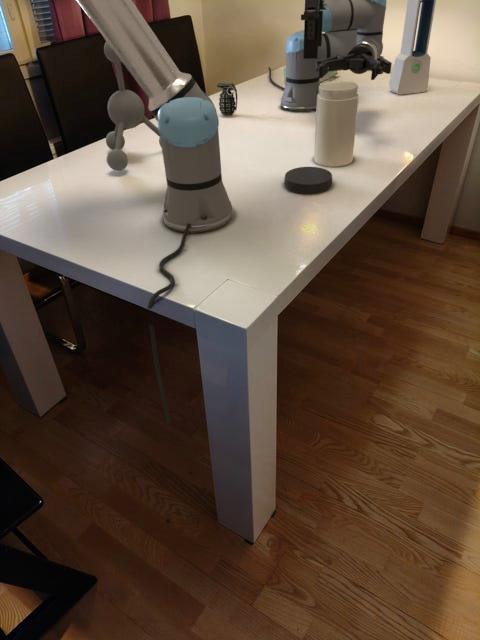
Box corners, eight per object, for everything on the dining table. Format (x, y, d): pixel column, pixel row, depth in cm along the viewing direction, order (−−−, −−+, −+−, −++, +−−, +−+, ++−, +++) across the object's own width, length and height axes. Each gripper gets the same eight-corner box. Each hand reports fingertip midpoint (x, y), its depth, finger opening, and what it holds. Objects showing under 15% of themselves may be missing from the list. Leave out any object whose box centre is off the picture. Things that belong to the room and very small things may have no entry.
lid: (281, 177, 123) (281, 168, 122) (325, 174, 124) (326, 164, 122) (288, 196, 114) (288, 186, 113) (336, 192, 115) (337, 182, 113)
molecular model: (191, 162, 134) (177, 38, 116) (111, 177, 129) (83, 48, 110) (169, 138, 152) (153, 27, 134) (98, 150, 146) (72, 36, 128)
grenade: (217, 117, 168) (214, 86, 162) (221, 112, 172) (219, 82, 166) (235, 117, 166) (233, 86, 160) (239, 113, 171) (238, 82, 165)
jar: (324, 150, 137) (328, 79, 126) (358, 156, 132) (366, 82, 121) (307, 162, 130) (309, 88, 119) (342, 169, 126) (348, 92, 114)
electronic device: (397, 95, 179) (411, -2, 161) (387, 90, 185) (399, -4, 166) (427, 91, 181) (444, -5, 163) (416, 87, 187) (431, -7, 169)
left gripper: (336, -84, 78) (328, 63, 91) (340, -80, 97) (333, 41, 110) (290, -81, 79) (288, 64, 92) (302, -78, 98) (300, 42, 111)
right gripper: (404, 72, 139) (393, 90, 124) (319, 70, 147) (299, 87, 132) (408, 43, 135) (398, 58, 119) (320, 42, 143) (300, 56, 127)
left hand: (312, 52), depth 101 cm, fingers open, 13 cm apart
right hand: (346, 73), depth 126 cm, fingers open, 13 cm apart
